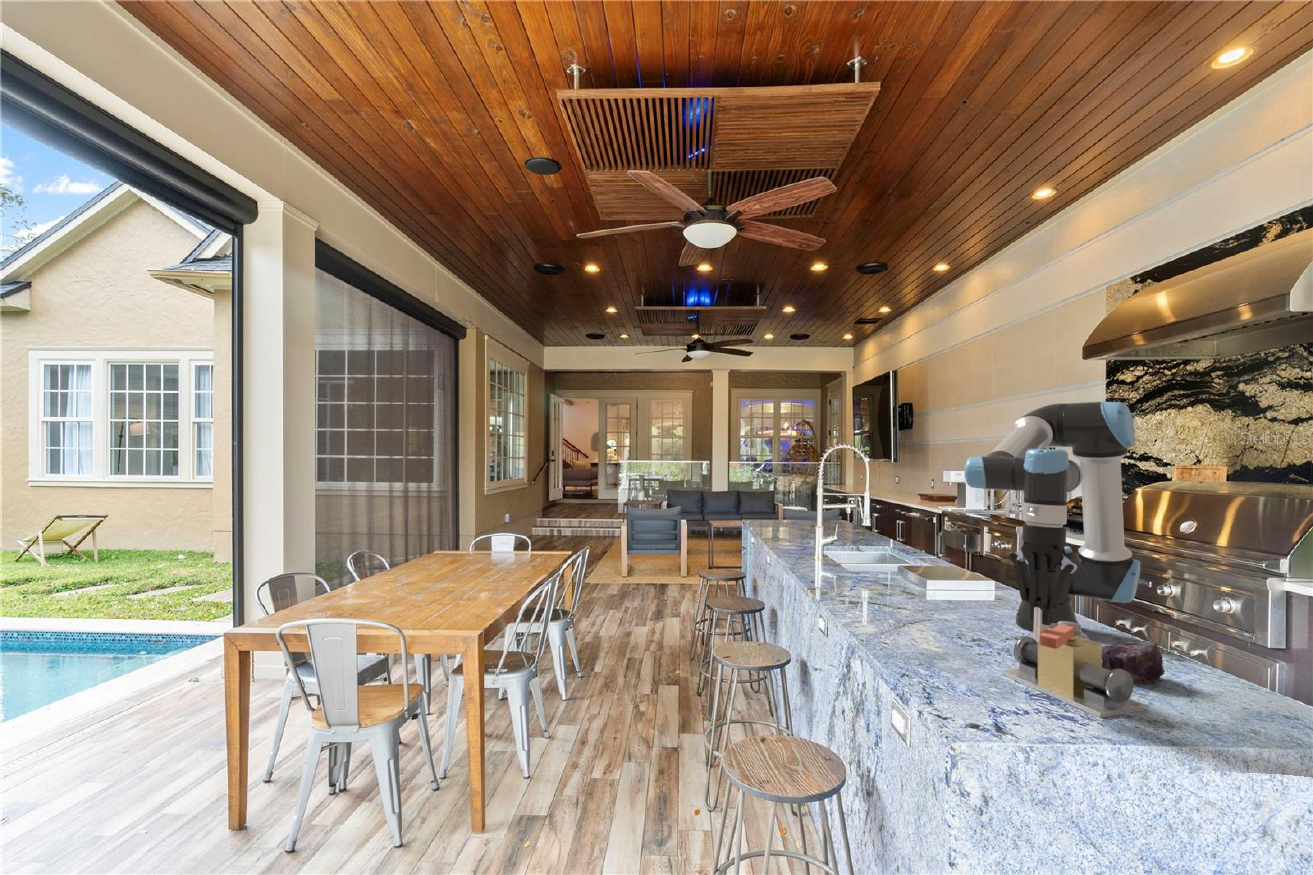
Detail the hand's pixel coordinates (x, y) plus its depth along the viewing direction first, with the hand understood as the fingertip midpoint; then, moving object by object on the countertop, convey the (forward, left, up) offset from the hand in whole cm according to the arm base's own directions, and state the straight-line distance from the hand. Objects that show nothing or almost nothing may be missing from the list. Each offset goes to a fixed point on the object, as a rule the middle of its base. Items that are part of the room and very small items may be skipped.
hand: (1040, 639), depth 123 cm
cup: (-24, -13, -13) cm, 30 cm away
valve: (-10, -2, -13) cm, 16 cm away
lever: (-5, +1, 0) cm, 5 cm away
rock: (-30, -2, -13) cm, 33 cm away
